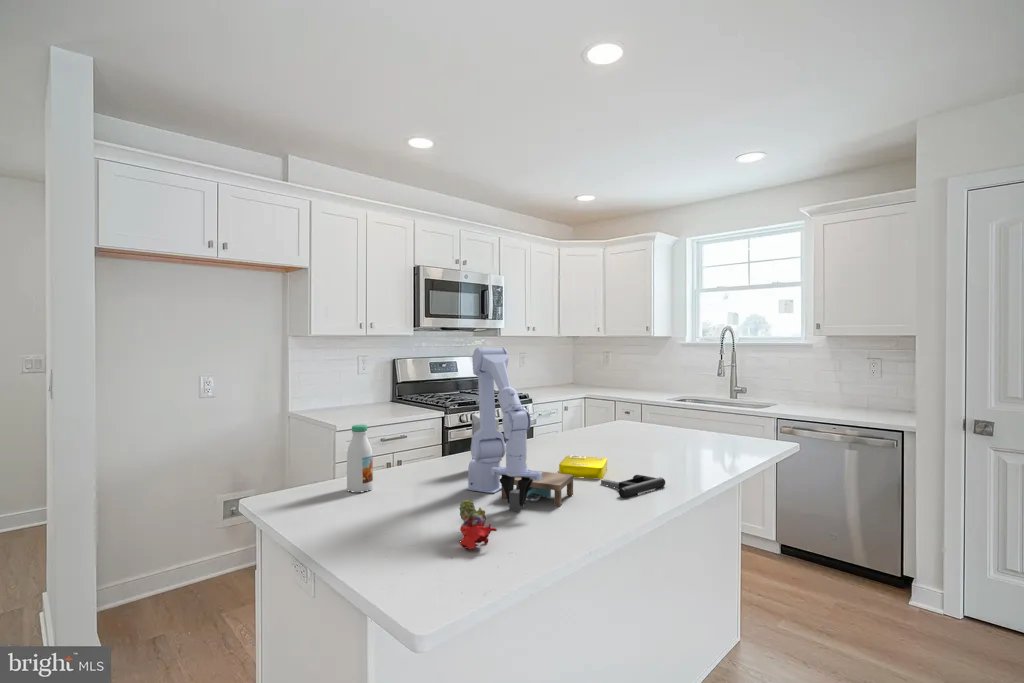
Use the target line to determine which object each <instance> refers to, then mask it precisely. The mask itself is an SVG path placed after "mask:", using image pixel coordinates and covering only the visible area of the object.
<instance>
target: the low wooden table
mask: <svg viewBox="0 0 1024 683" xmlns="http://www.w3.org/2000/svg"><path fill="white" fill-rule="evenodd" d="M536 471H537V472H542V480H540V481H536V480H533V481H532V483H531V485H530V487H534V488H542V489H550V490H551V491H554V507H557V506H560V507H561V506H562V490H563V489H564V488H565V487H566V496H567V495H568V496H567V497H573V496H574V477H573V475H569V474H560V473H559V472H551V471H541V470H540V471H539V470H536ZM519 480H521V478H516V477H515V480H514V486H516V489H515V490H519V485H518V481H519ZM572 495H573V496H572ZM501 500H507V497H506V493H505V491H504V488H503V486H502V489H501Z"/></svg>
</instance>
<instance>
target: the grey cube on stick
mask: <svg viewBox="0 0 1024 683" xmlns="http://www.w3.org/2000/svg"><path fill="white" fill-rule="evenodd" d="M531 493H535V494H538V495H540V498H541V497H543V498H548V497H549V498H548V499H550V498H551V497H552V490H550V489H542V488H534V487H530V488H529V490H528V493H527V496H528V495H530V494H531ZM527 496H526V497H527ZM524 505H525V504H524ZM524 505H523V506H521V505H520V492H519V489H515V488H514V489H513V490H512V491H510V492H509V504H508V507H509V510H508V511H510V512H518V513H520V512H522V511H523V510H524V507H525V506H524Z"/></svg>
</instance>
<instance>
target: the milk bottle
mask: <svg viewBox="0 0 1024 683" xmlns="http://www.w3.org/2000/svg"><path fill="white" fill-rule="evenodd" d="M367 433H368V425H366V424H353V425H352V427H351V434H352V437H351V440H350V443H349V446H348V448H347V452H346V453H347V454H346V487H347V488H346V489H347V491H348V490H349V491H354V492H361V491H367V490H370V489H371V490H372V489H373V488H374V486H373V485H374V476H373V475H374V467H373V466H374V465H373V461H374V458H373V449H372V446H371V443H370V441H369V439H368V436H367ZM371 490H370V491H371ZM349 491H348V492H349ZM367 492H368V491H367ZM361 493H362V492H361Z"/></svg>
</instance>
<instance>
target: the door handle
mask: <svg viewBox="0 0 1024 683" xmlns="http://www.w3.org/2000/svg"><path fill="white" fill-rule="evenodd" d="M600 483H601V485H602V484H605V485H608V486H607V487H609V486H611V487H610V488H612V487H615V488H614V489H616V488H618V489H617V490H618V496H619V497H621V498H628V497H633V496H636V495H635V494H640V495H643V494H642V493H644V494H646V493H645V492H647V493H649V492H648V491H651V490H654V491H656V490H655V489H656V488H657V489H660V488H664V487H665V485H666V480H665V478H664V477H661V476H660V477H653V476H652V477H651V476H647V475H642V474H635V475H634V476H633V477H632V478H630V479H626V480H622V481H614V480H610V479H604V478H603V479H600ZM605 485H604V486H605ZM651 492H652V491H651ZM632 495H633V496H632Z"/></svg>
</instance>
